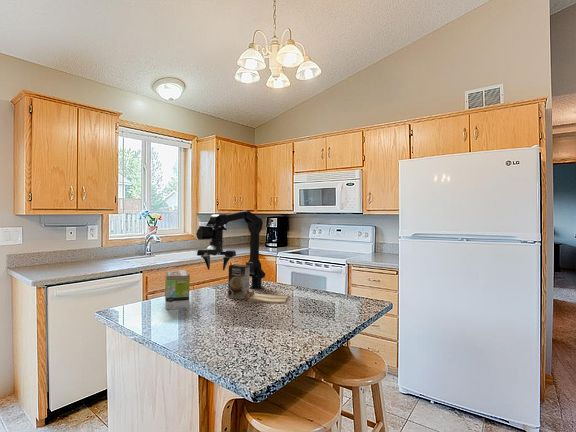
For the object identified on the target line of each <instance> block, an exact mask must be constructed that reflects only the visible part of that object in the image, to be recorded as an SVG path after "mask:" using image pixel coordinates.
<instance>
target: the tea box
mask: <svg viewBox="0 0 576 432" xmlns="http://www.w3.org/2000/svg"><path fill="white" fill-rule="evenodd" d="M190 277H191V276H190V274H189V272H188V270H187V269H186V270H185V269H184V270H183V269H181V270H180V269H179V270H166V271H165V283H164V284H165V287H164V288H165V289H164V290H165V291H164V293H165V294H164V299H165V301H164V302H165V310H176V309H177V310H179V309H180V310H181V309H187V308H189V307H190V283H191V282H190V279H191V278H190Z"/></svg>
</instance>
